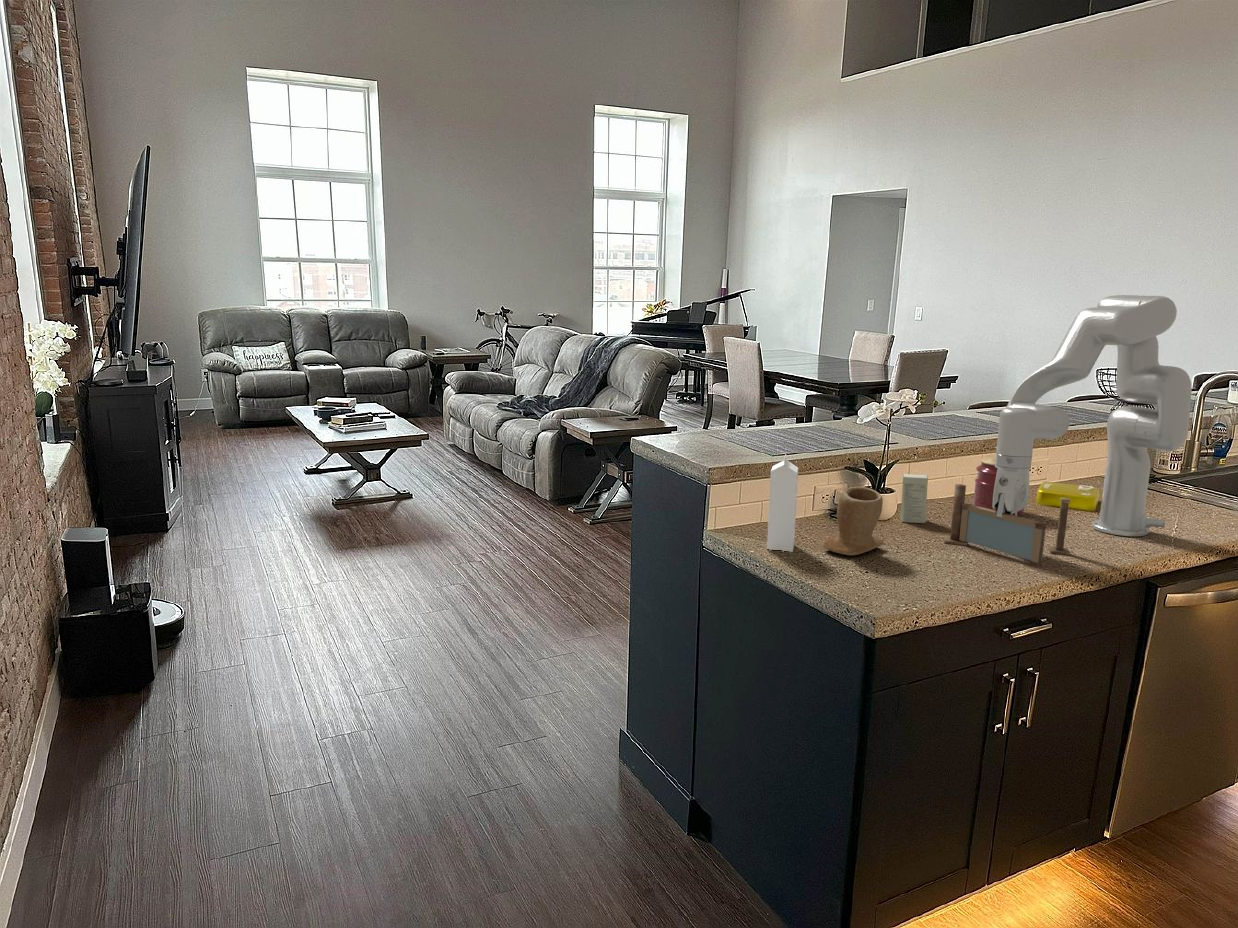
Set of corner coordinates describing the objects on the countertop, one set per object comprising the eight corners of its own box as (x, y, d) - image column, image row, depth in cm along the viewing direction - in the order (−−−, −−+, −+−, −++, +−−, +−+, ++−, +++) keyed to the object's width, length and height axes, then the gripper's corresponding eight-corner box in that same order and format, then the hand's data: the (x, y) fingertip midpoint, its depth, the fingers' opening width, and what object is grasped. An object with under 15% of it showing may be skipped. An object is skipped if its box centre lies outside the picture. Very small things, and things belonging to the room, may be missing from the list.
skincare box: (925, 519, 224) (929, 474, 221) (925, 524, 220) (929, 478, 217) (899, 517, 226) (903, 472, 223) (899, 521, 222) (903, 476, 219)
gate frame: (944, 543, 203) (949, 486, 201) (943, 537, 208) (949, 482, 205) (1070, 555, 195) (1077, 496, 192) (1066, 549, 199) (1073, 492, 196)
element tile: (1041, 494, 254) (1043, 479, 253) (1098, 502, 246) (1100, 485, 245) (1034, 505, 242) (1036, 489, 241) (1094, 513, 234) (1096, 496, 233)
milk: (766, 550, 197) (770, 457, 192) (768, 542, 203) (772, 452, 198) (793, 552, 195) (797, 459, 191) (794, 544, 201) (798, 453, 197)
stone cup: (858, 563, 188) (863, 498, 185) (815, 550, 197) (819, 488, 194) (897, 550, 198) (902, 488, 194) (854, 539, 206) (858, 479, 203)
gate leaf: (959, 539, 203) (962, 504, 201) (963, 538, 204) (966, 503, 202) (1037, 562, 186) (1042, 524, 185) (1041, 561, 187) (1046, 523, 185)
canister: (972, 515, 229) (978, 451, 225) (971, 504, 241) (977, 443, 237) (1025, 520, 224) (1032, 455, 221) (1022, 509, 236) (1029, 446, 232)
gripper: (1017, 469, 186) (1009, 548, 190) (1042, 459, 197) (1033, 534, 201) (983, 463, 192) (976, 541, 196) (1008, 454, 202) (1001, 528, 206)
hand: (1005, 538), depth 198 cm, fingers closed
